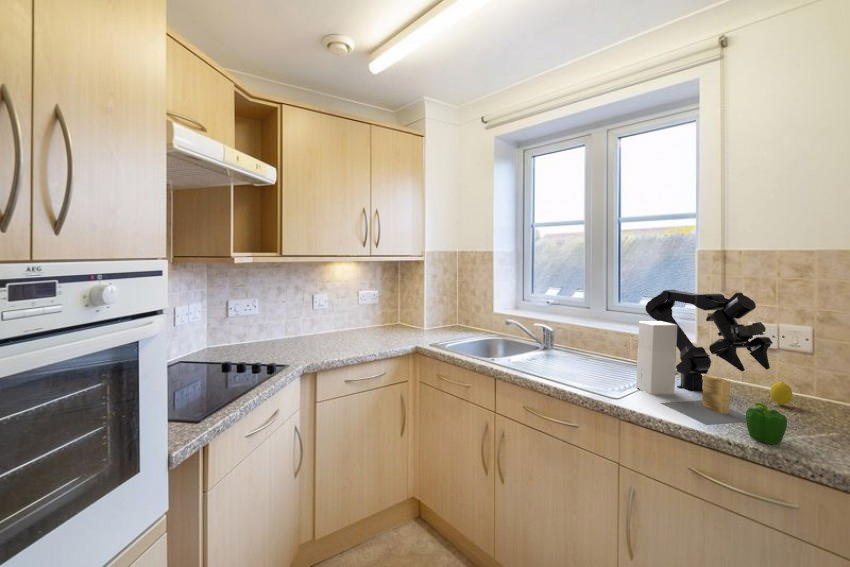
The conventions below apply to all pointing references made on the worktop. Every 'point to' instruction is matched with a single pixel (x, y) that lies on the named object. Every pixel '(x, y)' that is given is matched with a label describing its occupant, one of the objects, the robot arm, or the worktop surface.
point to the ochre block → (716, 394)
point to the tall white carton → (656, 357)
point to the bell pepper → (765, 424)
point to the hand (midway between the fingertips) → (755, 369)
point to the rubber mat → (705, 413)
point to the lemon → (781, 393)
